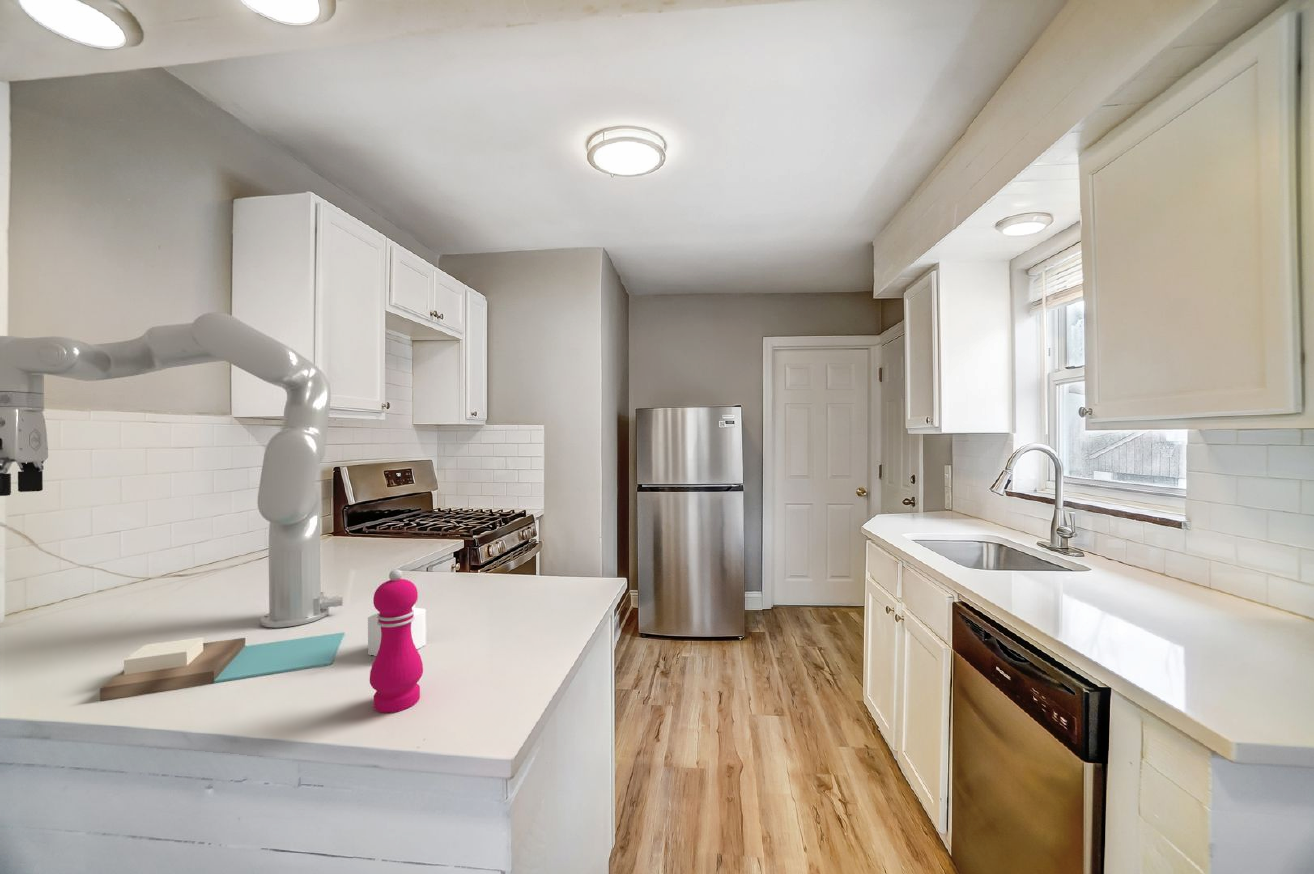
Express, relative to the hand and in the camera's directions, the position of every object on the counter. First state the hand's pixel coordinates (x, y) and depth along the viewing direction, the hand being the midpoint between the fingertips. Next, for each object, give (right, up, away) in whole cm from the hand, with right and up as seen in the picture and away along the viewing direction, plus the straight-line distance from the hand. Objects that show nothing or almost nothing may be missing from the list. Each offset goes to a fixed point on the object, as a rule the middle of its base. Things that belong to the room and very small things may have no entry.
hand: (14, 493), depth 100 cm
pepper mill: (+82, -30, -20) cm, 90 cm away
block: (+37, -27, -9) cm, 47 cm away
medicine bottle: (+72, -30, 0) cm, 78 cm away
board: (+39, -30, -8) cm, 50 cm away
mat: (+53, -30, -2) cm, 61 cm away
